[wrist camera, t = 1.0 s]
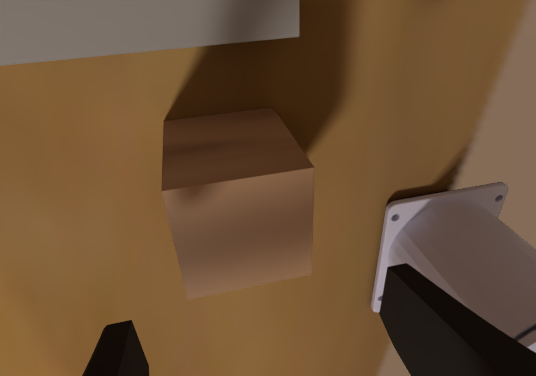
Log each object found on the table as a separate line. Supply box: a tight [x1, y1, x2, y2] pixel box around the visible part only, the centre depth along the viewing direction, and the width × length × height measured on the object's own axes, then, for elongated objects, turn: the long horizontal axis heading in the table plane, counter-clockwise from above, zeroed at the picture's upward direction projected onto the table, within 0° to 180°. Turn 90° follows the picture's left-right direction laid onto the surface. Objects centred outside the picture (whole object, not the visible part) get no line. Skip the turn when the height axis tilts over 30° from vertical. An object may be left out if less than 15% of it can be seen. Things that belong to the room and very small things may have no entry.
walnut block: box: [162, 107, 314, 300], centre depth 16 cm, size 5×5×6 cm
